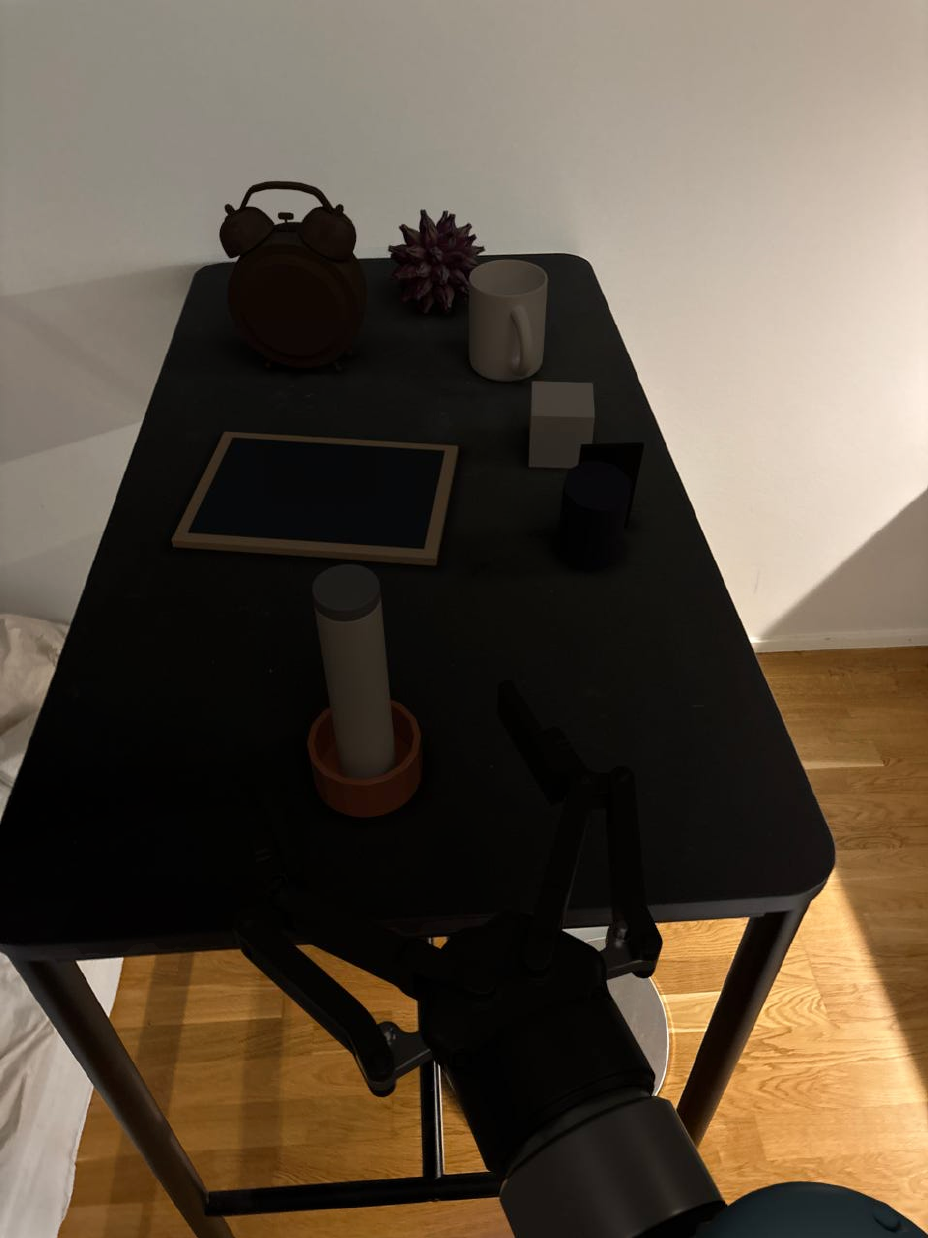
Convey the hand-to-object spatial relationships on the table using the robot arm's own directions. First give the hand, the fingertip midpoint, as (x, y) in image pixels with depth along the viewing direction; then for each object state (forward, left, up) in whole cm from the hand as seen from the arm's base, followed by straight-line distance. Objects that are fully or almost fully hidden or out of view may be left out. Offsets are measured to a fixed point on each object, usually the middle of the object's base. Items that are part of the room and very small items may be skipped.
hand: (386, 736), depth 52 cm
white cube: (+8, +51, -17) cm, 54 cm away
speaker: (+12, +36, -17) cm, 42 cm away
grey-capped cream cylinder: (-4, +10, -17) cm, 20 cm away
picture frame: (-14, +41, -17) cm, 46 cm away
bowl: (-4, +10, -17) cm, 20 cm away
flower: (-8, +79, -17) cm, 81 cm away
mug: (+2, +65, -17) cm, 67 cm away
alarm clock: (-21, +65, -17) cm, 70 cm away
